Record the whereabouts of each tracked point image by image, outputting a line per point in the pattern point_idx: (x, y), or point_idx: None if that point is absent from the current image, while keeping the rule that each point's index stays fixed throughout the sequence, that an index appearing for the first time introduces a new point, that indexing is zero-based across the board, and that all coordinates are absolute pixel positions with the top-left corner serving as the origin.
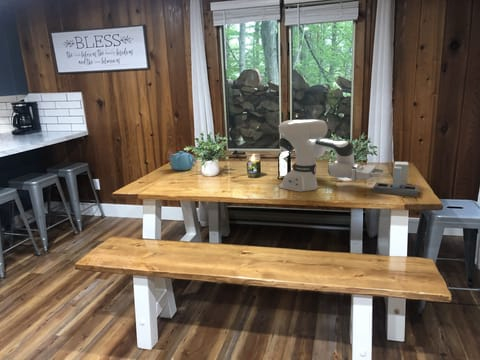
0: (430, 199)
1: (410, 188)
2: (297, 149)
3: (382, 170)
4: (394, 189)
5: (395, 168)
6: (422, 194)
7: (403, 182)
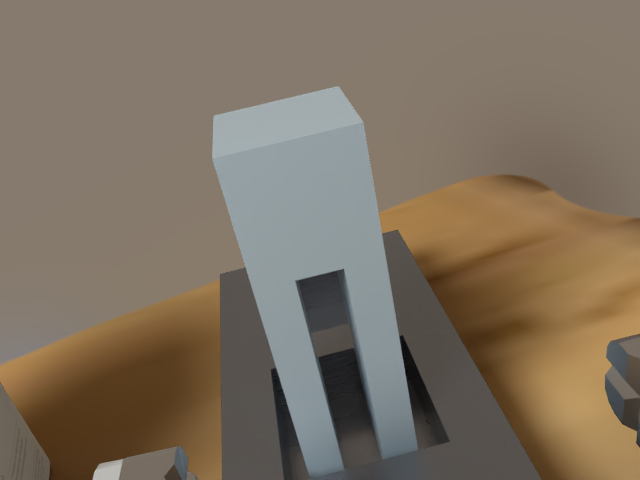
0: (412, 215)
1: None
2: None
3: (180, 464)
4: (479, 379)
5: (355, 116)
6: None
7: (26, 460)
